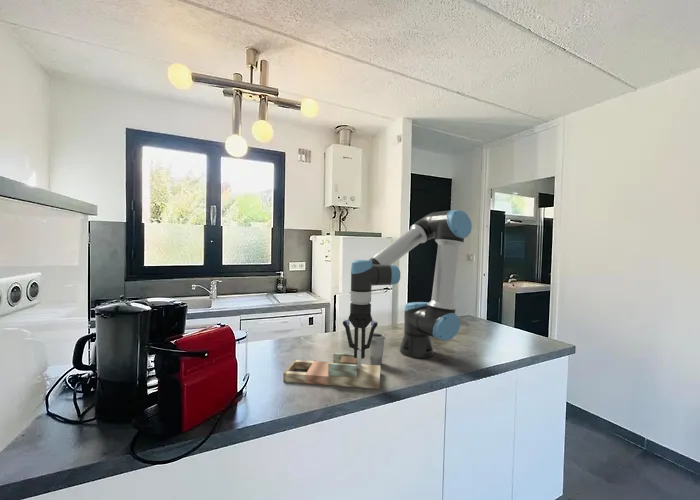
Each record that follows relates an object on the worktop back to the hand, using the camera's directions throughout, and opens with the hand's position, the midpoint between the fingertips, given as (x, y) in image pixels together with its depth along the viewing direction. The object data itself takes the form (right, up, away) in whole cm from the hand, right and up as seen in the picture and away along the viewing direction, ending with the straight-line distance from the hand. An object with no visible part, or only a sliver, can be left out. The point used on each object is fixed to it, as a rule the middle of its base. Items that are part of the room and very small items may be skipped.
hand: (359, 366), depth 113 cm
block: (-4, -1, 0) cm, 4 cm away
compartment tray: (-9, -4, +1) cm, 10 cm away
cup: (+7, -5, +15) cm, 17 cm away
